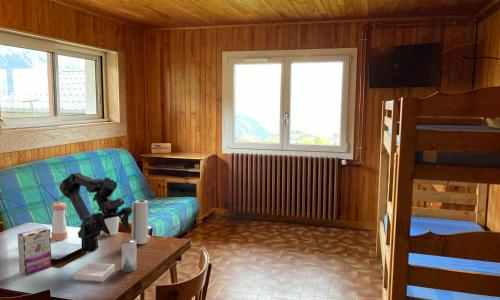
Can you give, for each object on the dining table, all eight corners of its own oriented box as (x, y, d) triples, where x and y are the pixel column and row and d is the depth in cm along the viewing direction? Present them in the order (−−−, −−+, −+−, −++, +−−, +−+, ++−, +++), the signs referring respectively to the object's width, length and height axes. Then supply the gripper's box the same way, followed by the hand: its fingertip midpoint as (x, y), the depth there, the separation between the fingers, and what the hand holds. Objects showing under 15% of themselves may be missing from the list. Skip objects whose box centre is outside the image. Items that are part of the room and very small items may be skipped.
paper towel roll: (148, 240, 203) (149, 199, 200) (146, 244, 196) (146, 202, 194) (134, 240, 202) (134, 199, 200) (131, 244, 196) (131, 202, 194)
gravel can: (119, 271, 164) (119, 243, 163) (125, 265, 170) (124, 238, 169) (133, 272, 164) (133, 243, 163) (138, 266, 170) (138, 239, 169)
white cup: (104, 236, 207) (104, 217, 206) (102, 232, 214) (102, 214, 213) (120, 234, 210) (120, 216, 209) (117, 230, 217) (117, 212, 216)
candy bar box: (45, 264, 169) (44, 226, 168) (51, 266, 167) (51, 228, 165) (18, 272, 160) (17, 233, 158) (25, 275, 157) (23, 235, 155)
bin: (73, 280, 155) (73, 273, 155) (88, 268, 166) (88, 262, 166) (102, 282, 154) (102, 275, 154) (114, 270, 165) (114, 264, 165)
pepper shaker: (70, 237, 203) (69, 201, 201) (56, 241, 197) (56, 203, 195) (61, 235, 207) (61, 199, 205) (48, 238, 201) (47, 201, 199)
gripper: (91, 195, 166) (106, 226, 160) (130, 189, 180) (144, 217, 174) (82, 210, 172) (96, 241, 166) (120, 203, 186) (134, 231, 180)
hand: (118, 232), depth 171 cm, fingers open, 9 cm apart
